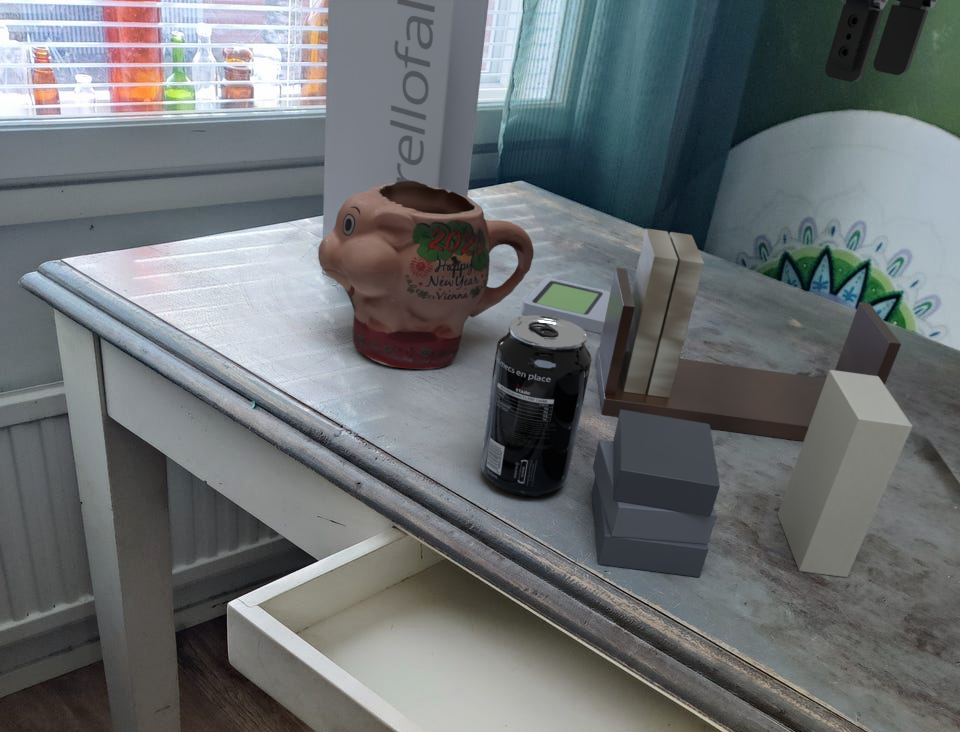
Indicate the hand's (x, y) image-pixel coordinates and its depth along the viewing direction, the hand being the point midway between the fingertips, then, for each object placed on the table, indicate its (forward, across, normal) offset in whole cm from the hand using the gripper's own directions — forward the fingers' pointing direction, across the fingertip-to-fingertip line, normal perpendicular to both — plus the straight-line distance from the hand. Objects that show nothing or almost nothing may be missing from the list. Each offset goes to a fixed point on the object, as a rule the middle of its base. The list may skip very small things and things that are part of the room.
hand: (866, 75), depth 63 cm
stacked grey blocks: (+29, -13, +1) cm, 32 cm away
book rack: (+29, +13, +8) cm, 33 cm away
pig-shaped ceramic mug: (+30, -1, +33) cm, 45 cm away
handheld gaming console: (+30, +22, +28) cm, 46 cm away
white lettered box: (+30, +9, +47) cm, 56 cm away
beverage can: (+30, -14, +12) cm, 35 cm away
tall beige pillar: (+29, -5, -8) cm, 31 cm away
